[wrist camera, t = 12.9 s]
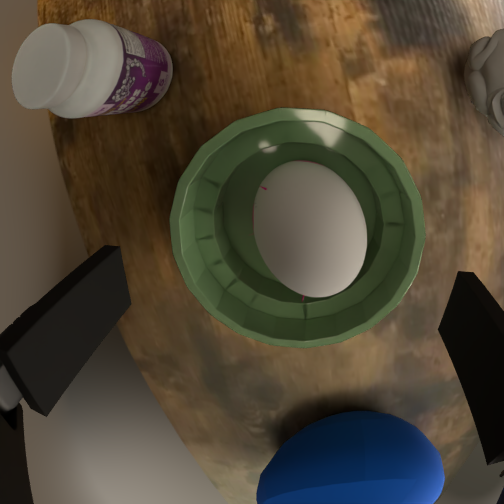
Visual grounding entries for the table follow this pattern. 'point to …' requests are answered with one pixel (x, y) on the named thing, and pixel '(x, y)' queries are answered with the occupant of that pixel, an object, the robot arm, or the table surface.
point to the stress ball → (309, 228)
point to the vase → (354, 463)
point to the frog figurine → (487, 78)
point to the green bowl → (244, 245)
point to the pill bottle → (90, 70)
